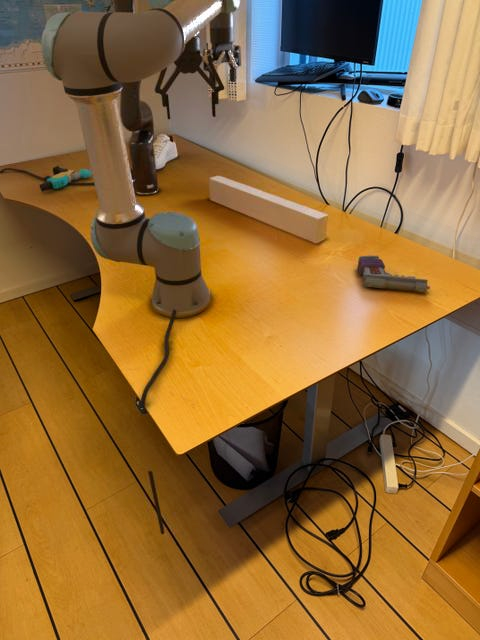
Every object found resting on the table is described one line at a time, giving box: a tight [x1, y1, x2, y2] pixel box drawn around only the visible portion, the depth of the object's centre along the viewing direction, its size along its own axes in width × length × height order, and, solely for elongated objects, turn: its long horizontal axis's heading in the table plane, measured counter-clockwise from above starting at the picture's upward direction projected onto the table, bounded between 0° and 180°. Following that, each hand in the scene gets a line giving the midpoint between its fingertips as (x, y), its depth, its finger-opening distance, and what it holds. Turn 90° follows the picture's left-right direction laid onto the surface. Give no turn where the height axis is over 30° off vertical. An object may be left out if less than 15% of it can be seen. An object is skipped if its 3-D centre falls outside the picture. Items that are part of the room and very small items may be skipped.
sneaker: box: [153, 133, 179, 170], centre depth 214 cm, size 10×29×12 cm, turn 163°
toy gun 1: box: [39, 165, 92, 193], centre depth 197 cm, size 4×26×15 cm
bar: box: [208, 174, 329, 245], centre depth 166 cm, size 52×5×8 cm, turn 44°
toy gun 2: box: [356, 254, 431, 293], centre depth 132 cm, size 4×19×15 cm
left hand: (223, 83), depth 156 cm, fingers open, 8 cm apart
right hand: (191, 117), depth 143 cm, fingers open, 13 cm apart
